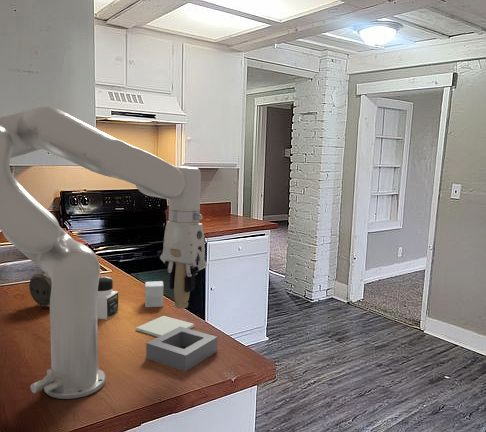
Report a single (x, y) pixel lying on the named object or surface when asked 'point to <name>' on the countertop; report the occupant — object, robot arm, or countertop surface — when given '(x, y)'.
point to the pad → (163, 326)
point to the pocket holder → (179, 358)
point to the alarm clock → (41, 288)
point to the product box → (154, 294)
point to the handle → (180, 283)
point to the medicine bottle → (106, 299)
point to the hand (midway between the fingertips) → (181, 288)
